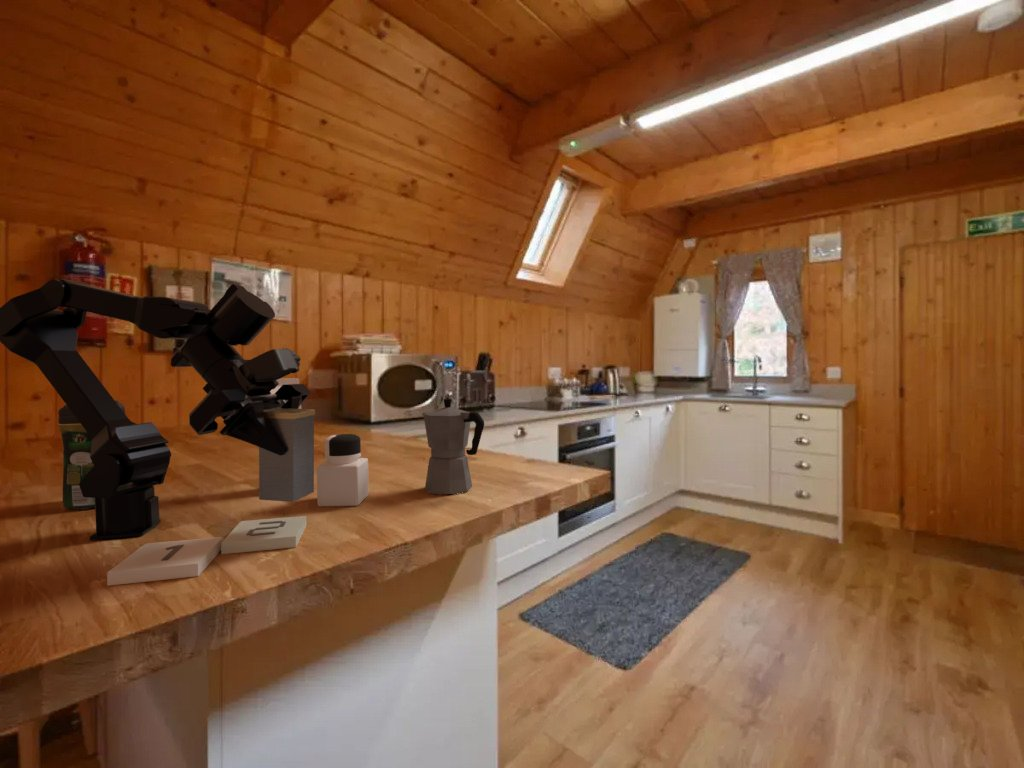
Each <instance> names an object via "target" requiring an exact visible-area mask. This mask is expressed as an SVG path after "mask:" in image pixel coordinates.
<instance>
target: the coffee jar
mask: <svg viewBox="0 0 1024 768" xmlns="http://www.w3.org/2000/svg"><path fill="white" fill-rule="evenodd" d="M115 402H116V403H117V404H118V406H119V407H120V408H121V409H122V411H123V412H124V413H125V415H126V416H127V414H126V410H125V406H124V405H123V404H122V403H121V402H120V401H119V400H115ZM57 413H58V424H57V425H58V429H59V431H60V435H61V440H62V451H63V452H62V456H63V457H62V459H63V460H62V461H63V462H62V464H63V465H62V468H63V469H62V473H63V474H62V505H63V507H64V508H66V509H72V510H78V511H79V509H81V510H89V509H91V508H95V498H87V497H83V495H82V492H81V489H80V486H79V483H80V481H81V480H82V479H83V478H84V477H85V476H86V475H87V473H88V472H89V471H90V470H91V469H92V468H93V466H94V464H93V462H92V460H91V458H90V453H91V444H92V438H91V437H90V435H89V434H88V433H87V431H86V430H85V429H84V427H83V426H82V425H81V423H80V422H79V421H78V419H77V418H76V417H75V415H74V414H73V413H72V411H71V410H70V409H69V407H68V406H67V405H66V404H65V405H63V406H62V407H61V408H59V409H58V412H57Z"/></svg>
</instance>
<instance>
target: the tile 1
mask: <svg viewBox="0 0 1024 768" xmlns="http://www.w3.org/2000/svg"><path fill="white" fill-rule="evenodd" d="M223 540H224V536H215V537H206V538H196V539H195V538H193V539H184V540H183V539H182V540H172V541H171V540H170V541H160V542H159V541H157V542H149V543H148V542H147V543H144V544H143V545H142V546H140V547H139V548H138V549H136V550H135V551H133V552H132V553H131V554H130V555H128V556H127V557H125V558H124V559H123V560H122V561H121V562H119V563H117V565H115V566H114V567H113V568H111V569H110V570H108V571H107V572H106V578H107V579H106V581H107V587H108V586H118V585H126V584H137V583H138V584H139V583H145V582H146V583H147V582H155V581H164V580H174V579H184V578H185V579H186V578H194V577H199V576H200V575H201V574H202V573H203V572H204V570H205V569H206V568H207V567H208V566H209V565H210V564H211V562H212V561H214V559H215V558H216V557H217V556H218V554H219V553H221V543H222V541H223Z"/></svg>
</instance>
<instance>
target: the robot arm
mask: <svg viewBox="0 0 1024 768" xmlns="http://www.w3.org/2000/svg"><path fill="white" fill-rule="evenodd" d="M60 307H62V308H64V309H63V310H62V309H58V308H60ZM87 313H92V314H96V315H100V316H104V317H108V318H113V319H117V320H121V321H125V322H128V323H132V324H133V325H135V326H136V327H137V328H138V329H139V330H140V331H143V332H145V333H147V334H149V335H151V336H152V337H155V338H158V339H165V340H185V342H184V343H182V345H181V346H180V347H173V350H172V351H173V353H172V356H171V358H170V366H171V367H172V368H181V367H182V368H183V367H184V368H187V367H189V368H190V367H192V368H193V369H194V370H195V371H196V373H197V374H198V375H199V376H200V377H201V378H202V379H203V380H204V381H205V383H206V384H205V385H204V386H203V387H202V390H203V391H204V392H205V393H206V395H205V396H204V398H203V399H202V400H201V401H200V402H199V403H198V404H197V405H196V406H195V407H194V408H193V409H192V410H191V411H190V412H189V414H188V423H189V426H190V427H191V428H192V429H193V430H194V432H195V433H196V434H197V435H198V436H202V435H207V434H212V433H215V432H216V431H217V430H218V426H219V424H218V422H217V421H216V419H217V418H220V417H221V419H223V420H222V423H223V424H224V425H225V426H224V427H222V429H221V430H220V431H219V434H220V435H222V436H228V437H231V438H233V439H236V440H239V441H243V442H246V443H248V444H251V445H253V446H256V447H258V448H259V447H260V448H263V449H265V450H268V451H270V452H273V453H275V454H278V455H280V456H281V455H284V454H285V453H286V452H287V448H286V447H285V445H284V444H283V442H282V441H281V439H280V438H279V436H278V435H277V434H276V432H275V431H274V430H273V428H272V427H271V426H270V424H269V423H268V422H267V420H266V419H265V417H264V411H266V410H273V409H279V408H290V409H298V407H299V406H300V405H301V406H302V404H303V403H304V402H306V400H307V399H308V398H309V397H310V396H311V394H312V391H310V389H309V388H308V387H307V386H306V385H305V384H304V383H299V384H285V385H282V386H281V387H280V388H279V389H278V391H277V392H276V393H275V394H271V392H270V391H271V390H272V389H275V388H276V387H277V385H278V384H279V383H278V382H277V381H276V380H278V379H280V378H285V377H286V376H288V375H290V374H296V373H297V372H299V371H300V366H301V357H300V356H299V355H297V353H296V351H295V350H292V349H290V348H274V349H270V350H267V351H265V352H263V353H262V354H258V355H257V356H255V357H253V358H250V359H245V358H244V357H243V356H242V355H241V354H240V352H238V351H237V349H236V348H235V346H249V345H250V344H251V343H252V342H253V341H254V340H255V339H256V337H258V336H259V334H260V333H261V332H262V331H263V330H264V329H265V328H266V327H267V326H268V324H270V322H271V321H272V320H273V319H274V318H275V316H276V313H275V310H274V309H273V307H272V306H271V305H270V304H269V303H268V302H267V301H264V300H263V299H261V298H260V297H258V296H257V295H255V294H254V293H252V292H251V291H248V290H247V289H246V287H244V286H243V285H240V284H234V283H233V284H231V285H230V286H229V287H228V288H227V289H226V291H225V293H224V295H222V297H221V298H219V300H218V301H217V302H216V304H215V305H213V307H212V308H211V309H209V307H208V306H207V305H206V304H205V303H202V302H200V301H199V302H198V301H193V300H186V299H179V298H174V297H168V296H148V295H147V296H139V295H134V294H129V293H125V292H120V291H115V290H111V289H108V288H107V289H106V288H103V287H98V286H94V285H91V284H90V283H88V282H83V281H78V280H77V281H76V280H69V279H63V278H55V279H51V280H48V281H47V282H46V283H44V284H43V285H42V286H40V287H39V288H37V289H33V290H31V291H28V292H26V293H22V294H20V295H18V296H15V297H12V298H9V300H8V301H7V302H5V303H4V304H2V305H1V307H0V343H1V345H3V346H4V347H5V348H6V349H7V350H8V351H9V352H10V353H12V354H15V355H16V356H18V357H20V358H22V359H25V360H27V361H29V362H31V363H33V364H34V365H36V366H37V367H38V369H39V370H40V372H41V373H42V374H43V375H44V377H45V378H46V380H47V381H48V382H49V383H50V385H51V386H52V388H53V389H54V390H55V392H56V393H57V394H58V395H59V397H60V398H61V400H63V402H64V404H65V405H67V406H68V407H69V409H70V410H71V411H72V413H73V414H74V415H75V417H76V418H77V419H78V421H79V422H80V423H81V425H82V426H83V427H84V429H85V430H86V431H87V433H88V434H89V435H90V437H91V438H92V444H91V453H90V458H91V460H92V462H93V464H94V466H93V468H92V469H91V470H90V471H89V472H88V473H87V475H86V476H85V477H84V478H83V479H82V480H81V481H80V483H79V486H80V489H81V492H82V495H83V497H87V498H95V507H94V509H95V510H94V513H95V532H94V533H93V534H90V535H89V540H90V541H93V540H103V539H104V540H105V539H115V538H116V539H117V538H118V539H119V538H129V537H138V536H139V537H140V536H143V535H144V534H147V533H148V532H149V531H151V530H152V529H153V528H155V527H156V526H157V525H159V524H161V521H162V520H161V518H160V501H159V496H158V495H155V486H157V485H162V484H164V482H165V478H166V475H167V472H168V469H169V467H170V466H169V465H170V463H171V462H170V461H171V457H172V452H171V450H170V448H169V446H168V444H169V440H168V439H167V438H165V437H164V436H163V435H162V434H161V433H160V431H159V428H158V427H157V426H156V425H155V424H154V423H153V422H151V421H149V422H143V423H136V422H134V421H131V419H129V417H128V416H127V414H126V412H125V413H124V412H123V411H122V409H121V408H120V407H119V406H118V404H117V403H116V402H115V401H116V399H114V398H113V396H112V395H111V393H109V391H108V390H107V388H106V387H105V385H104V384H102V382H101V381H100V379H99V378H98V377H97V375H96V374H95V373H94V371H93V370H92V368H91V367H90V366H89V365H88V364H87V363H86V361H85V360H84V359H83V357H82V356H81V355H80V353H79V352H78V351H77V343H78V338H79V337H78V336H79V335H78V332H77V330H78V329H80V328H81V327H82V326H84V325H85V322H86V318H87V317H86V316H87ZM125 414H126V415H125Z"/></svg>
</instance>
